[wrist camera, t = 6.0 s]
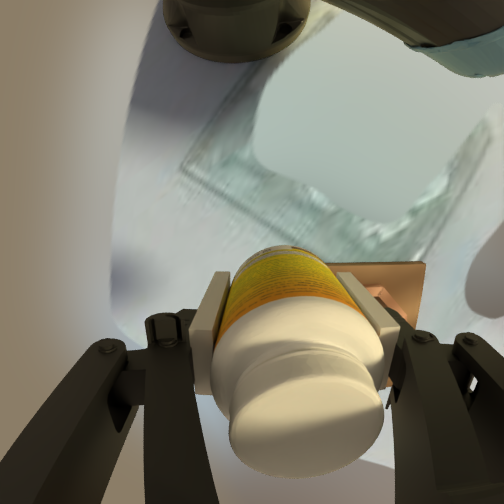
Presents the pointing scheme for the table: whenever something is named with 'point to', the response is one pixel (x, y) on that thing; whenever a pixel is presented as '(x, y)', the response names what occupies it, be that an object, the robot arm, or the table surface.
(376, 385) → the supplement bottle
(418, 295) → the holder board
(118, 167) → the table surface
